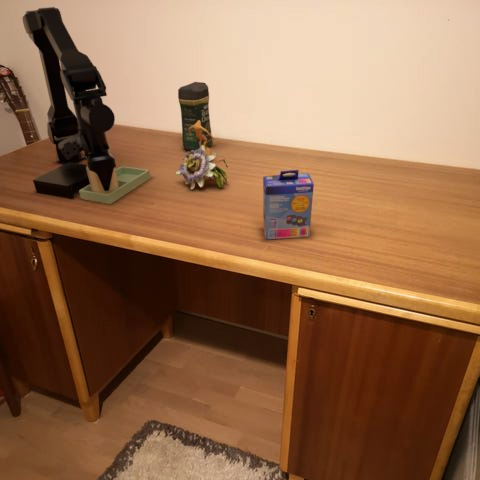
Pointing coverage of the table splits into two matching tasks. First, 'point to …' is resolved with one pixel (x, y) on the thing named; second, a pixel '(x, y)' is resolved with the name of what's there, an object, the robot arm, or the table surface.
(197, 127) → the figurine
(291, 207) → the ink cartridge box
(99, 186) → the cup
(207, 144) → the coffee jar
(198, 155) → the passion flower
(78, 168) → the flat black slab base
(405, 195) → the table surface
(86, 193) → the tray
